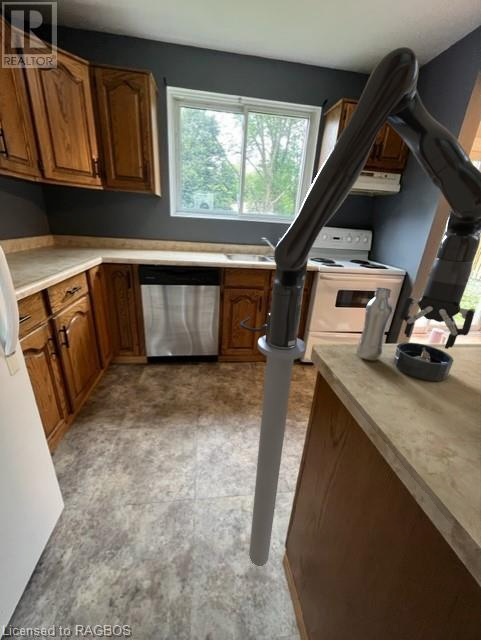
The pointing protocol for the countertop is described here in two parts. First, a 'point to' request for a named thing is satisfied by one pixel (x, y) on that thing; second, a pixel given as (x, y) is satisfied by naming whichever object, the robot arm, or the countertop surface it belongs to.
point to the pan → (422, 362)
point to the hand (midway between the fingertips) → (426, 341)
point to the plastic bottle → (375, 325)
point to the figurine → (423, 356)
